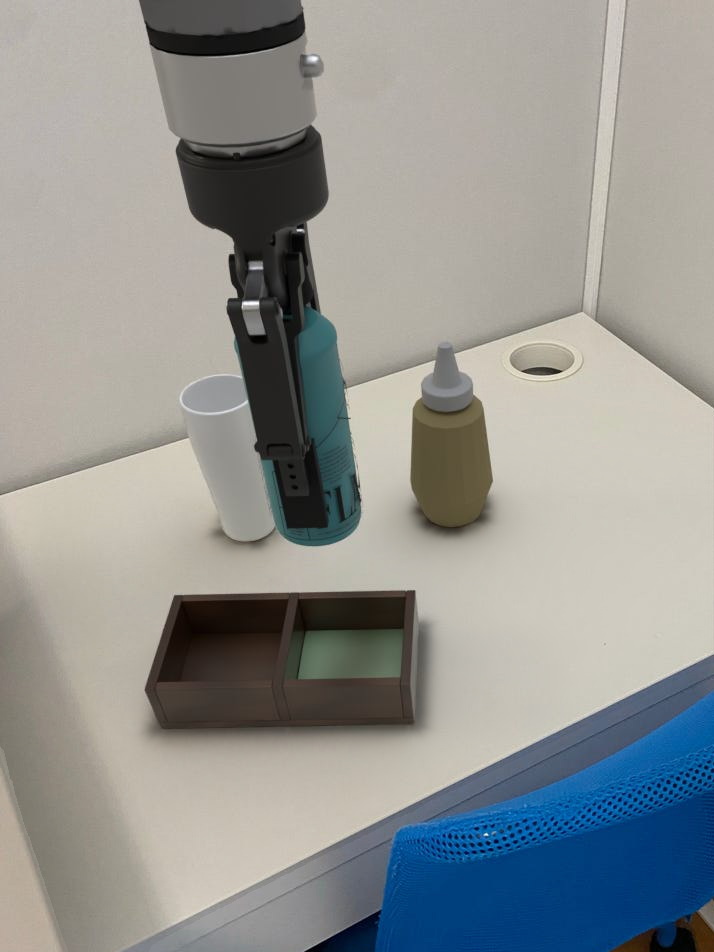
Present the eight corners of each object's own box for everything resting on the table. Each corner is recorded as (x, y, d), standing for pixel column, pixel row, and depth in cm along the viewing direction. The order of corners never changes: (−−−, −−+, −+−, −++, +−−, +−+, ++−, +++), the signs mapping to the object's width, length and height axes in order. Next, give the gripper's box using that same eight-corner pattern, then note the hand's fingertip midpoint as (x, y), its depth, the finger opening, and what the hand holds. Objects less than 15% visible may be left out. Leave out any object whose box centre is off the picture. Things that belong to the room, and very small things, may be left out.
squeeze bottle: (472, 544, 90) (467, 377, 77) (398, 523, 92) (381, 357, 80) (506, 497, 95) (506, 332, 82) (435, 478, 98) (424, 315, 85)
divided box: (160, 728, 75) (143, 689, 72) (187, 634, 82) (173, 594, 79) (414, 723, 75) (410, 684, 71) (419, 629, 82) (415, 589, 79)
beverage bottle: (323, 578, 64) (271, 299, 50) (256, 541, 67) (189, 268, 53) (385, 529, 68) (354, 256, 54) (319, 496, 71) (273, 229, 57)
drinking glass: (208, 549, 90) (168, 414, 79) (224, 505, 95) (188, 372, 84) (278, 549, 90) (247, 414, 79) (290, 505, 95) (263, 372, 84)
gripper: (295, 202, 41) (356, 585, 58) (337, 73, 55) (377, 415, 71) (127, 207, 42) (236, 588, 58) (209, 77, 55) (279, 417, 71)
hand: (313, 492), depth 65 cm, fingers closed on beverage bottle, 6 cm apart
